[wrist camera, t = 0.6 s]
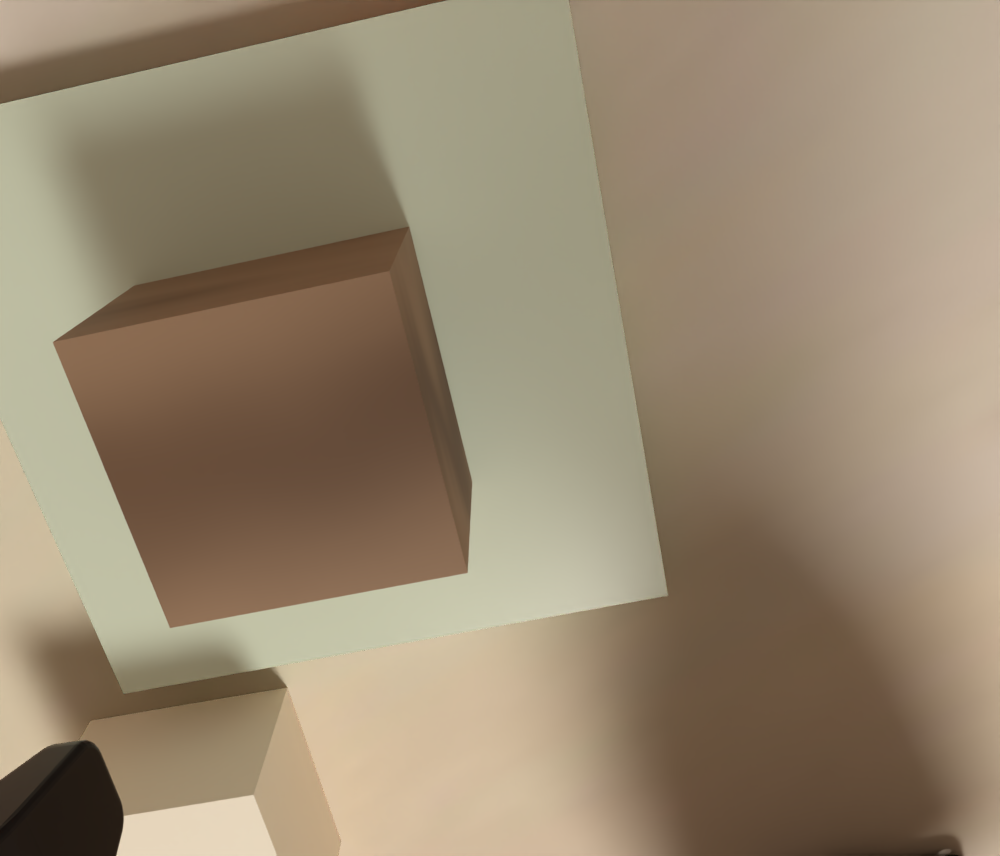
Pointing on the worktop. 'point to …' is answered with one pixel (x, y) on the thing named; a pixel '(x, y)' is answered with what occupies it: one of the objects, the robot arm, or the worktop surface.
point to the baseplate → (328, 219)
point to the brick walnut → (278, 428)
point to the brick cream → (217, 780)
